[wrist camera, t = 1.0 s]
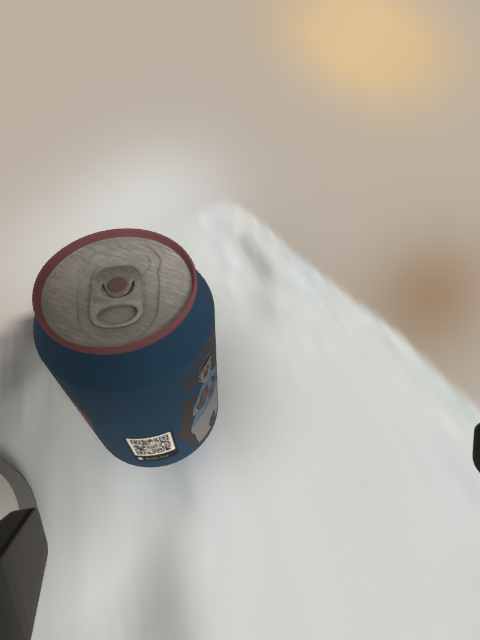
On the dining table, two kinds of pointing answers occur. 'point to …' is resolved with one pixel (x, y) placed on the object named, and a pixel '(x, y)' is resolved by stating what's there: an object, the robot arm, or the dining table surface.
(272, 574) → the dining table surface
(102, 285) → the soda can
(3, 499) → the ring coaster
